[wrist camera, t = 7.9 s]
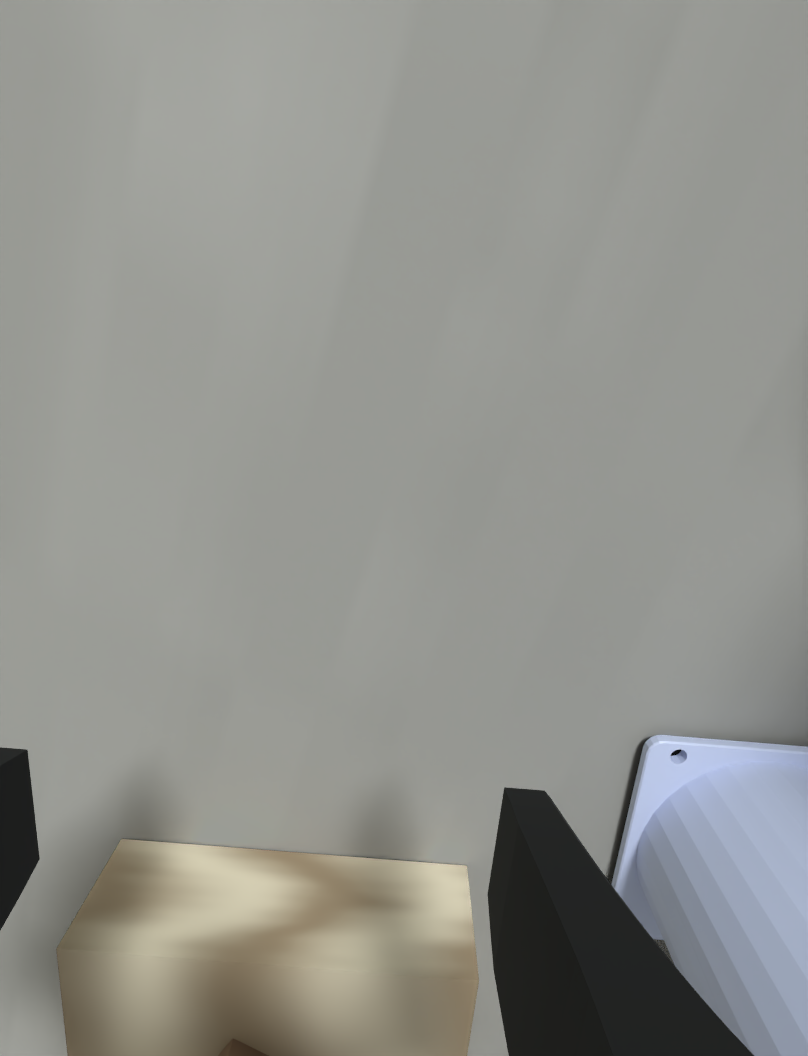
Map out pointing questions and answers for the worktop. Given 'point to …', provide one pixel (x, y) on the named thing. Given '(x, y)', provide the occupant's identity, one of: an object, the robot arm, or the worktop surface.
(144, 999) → the birch pedestal
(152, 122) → the worktop surface
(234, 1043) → the walnut cube
